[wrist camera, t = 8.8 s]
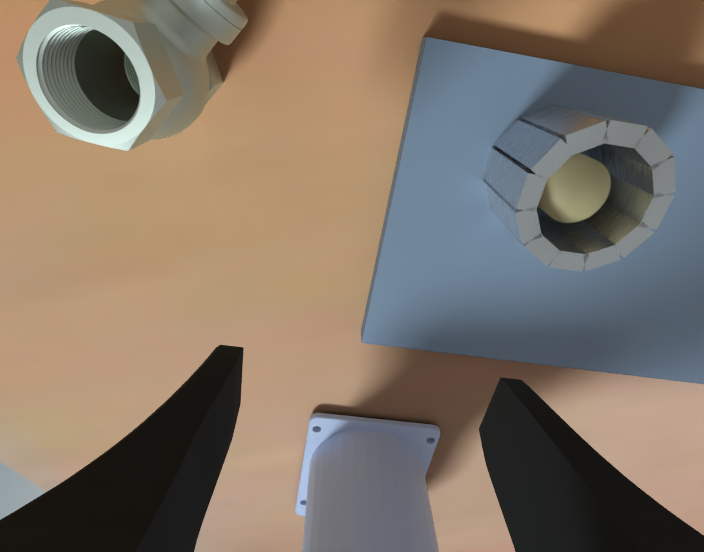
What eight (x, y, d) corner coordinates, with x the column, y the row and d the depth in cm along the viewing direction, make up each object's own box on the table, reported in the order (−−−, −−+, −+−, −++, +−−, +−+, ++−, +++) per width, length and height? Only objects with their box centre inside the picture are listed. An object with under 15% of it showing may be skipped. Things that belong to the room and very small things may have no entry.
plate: (763, 380, 25) (830, 435, 22) (360, 331, 23) (364, 382, 20) (957, 138, 19) (1098, 159, 15) (422, 37, 17) (443, 35, 13)
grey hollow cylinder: (579, 236, 20) (631, 278, 16) (469, 220, 19) (498, 260, 16) (631, 117, 17) (705, 135, 14) (506, 96, 17) (550, 110, 13)
